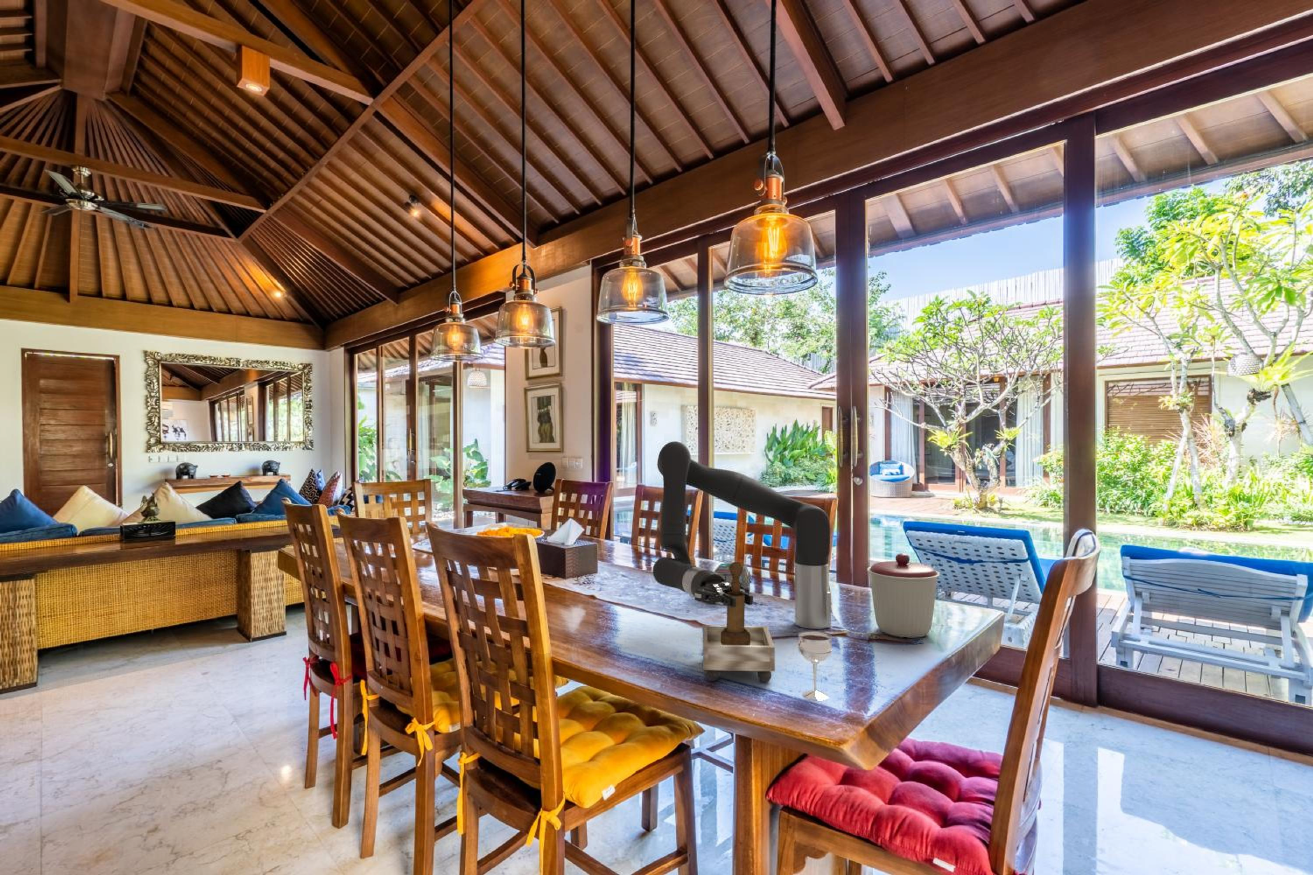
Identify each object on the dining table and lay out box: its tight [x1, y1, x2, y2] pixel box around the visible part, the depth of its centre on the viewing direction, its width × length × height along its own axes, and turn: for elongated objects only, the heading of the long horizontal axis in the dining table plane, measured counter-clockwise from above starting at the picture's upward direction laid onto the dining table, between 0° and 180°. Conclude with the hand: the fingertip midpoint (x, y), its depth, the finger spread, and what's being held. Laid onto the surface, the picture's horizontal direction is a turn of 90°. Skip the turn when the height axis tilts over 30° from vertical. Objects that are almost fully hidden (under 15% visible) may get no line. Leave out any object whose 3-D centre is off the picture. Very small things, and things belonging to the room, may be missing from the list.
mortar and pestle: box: [721, 561, 750, 645], centre depth 138 cm, size 7×6×18 cm
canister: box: [866, 552, 941, 639], centre depth 165 cm, size 18×18×21 cm
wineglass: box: [797, 630, 833, 701], centre depth 125 cm, size 7×7×12 cm
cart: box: [702, 625, 776, 683], centre depth 138 cm, size 15×15×8 cm
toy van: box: [713, 562, 752, 590], centre depth 208 cm, size 11×25×10 cm, turn 164°
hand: (742, 601), depth 135 cm, fingers closed on mortar and pestle, 4 cm apart
